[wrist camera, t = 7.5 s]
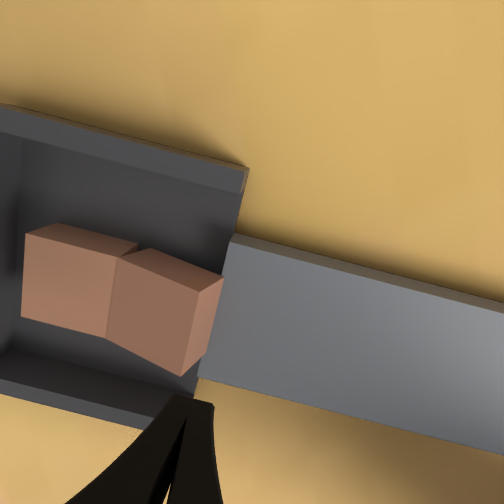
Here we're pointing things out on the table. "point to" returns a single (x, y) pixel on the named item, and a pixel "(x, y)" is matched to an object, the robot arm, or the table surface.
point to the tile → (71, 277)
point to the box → (108, 223)
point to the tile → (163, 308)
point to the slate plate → (359, 343)
